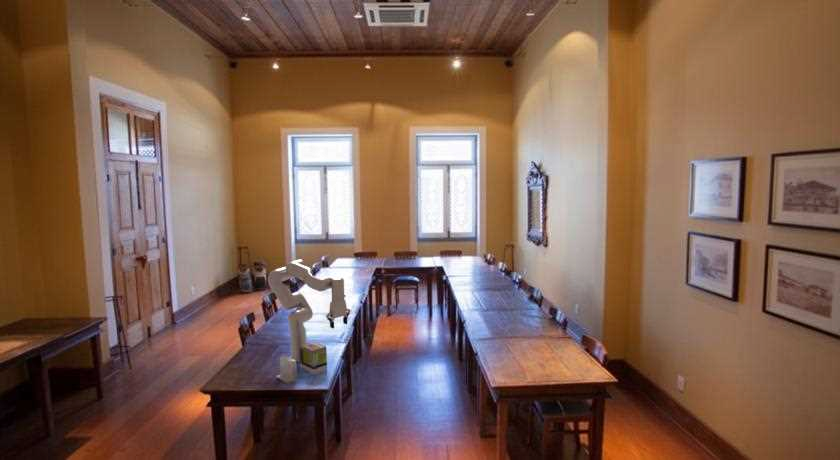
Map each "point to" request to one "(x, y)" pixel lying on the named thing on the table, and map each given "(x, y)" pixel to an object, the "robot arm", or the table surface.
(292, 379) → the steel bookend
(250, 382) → the table surface
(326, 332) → the table surface
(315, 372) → the tea box
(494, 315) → the table surface
